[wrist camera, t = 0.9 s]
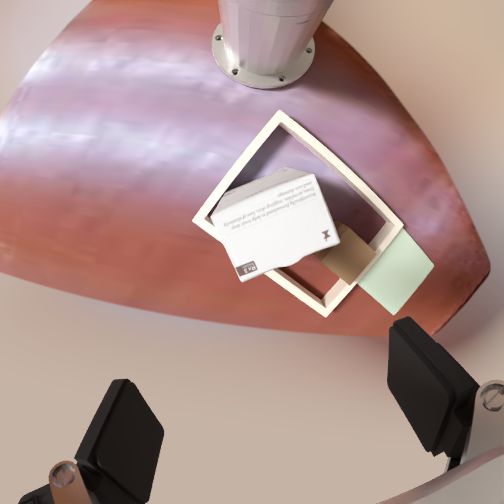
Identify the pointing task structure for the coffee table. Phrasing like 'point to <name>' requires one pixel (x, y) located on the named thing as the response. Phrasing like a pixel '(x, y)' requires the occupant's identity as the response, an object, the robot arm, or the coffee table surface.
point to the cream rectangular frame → (345, 173)
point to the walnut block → (346, 254)
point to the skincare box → (274, 222)
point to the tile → (396, 272)
